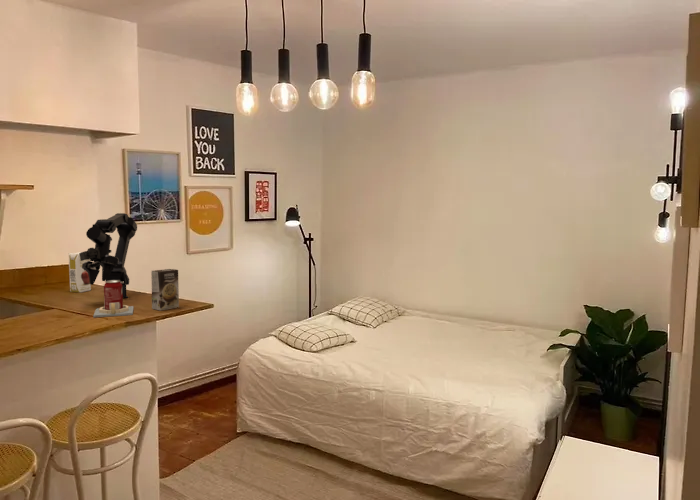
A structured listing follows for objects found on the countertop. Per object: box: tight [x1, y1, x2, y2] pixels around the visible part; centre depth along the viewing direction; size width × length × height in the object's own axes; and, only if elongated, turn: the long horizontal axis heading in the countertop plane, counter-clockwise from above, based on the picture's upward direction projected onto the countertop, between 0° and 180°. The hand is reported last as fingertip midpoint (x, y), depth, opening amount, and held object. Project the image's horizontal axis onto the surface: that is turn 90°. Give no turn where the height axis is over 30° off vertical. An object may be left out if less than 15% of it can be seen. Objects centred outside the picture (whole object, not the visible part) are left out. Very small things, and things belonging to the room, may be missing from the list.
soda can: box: [103, 280, 124, 310], centre depth 211 cm, size 7×7×12 cm
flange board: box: [92, 303, 134, 319], centre depth 211 cm, size 14×14×5 cm
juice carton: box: [68, 251, 92, 293], centre depth 258 cm, size 8×9×19 cm
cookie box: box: [150, 268, 180, 311], centre depth 220 cm, size 9×6×16 cm
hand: (97, 282), depth 220 cm, fingers open, 9 cm apart
